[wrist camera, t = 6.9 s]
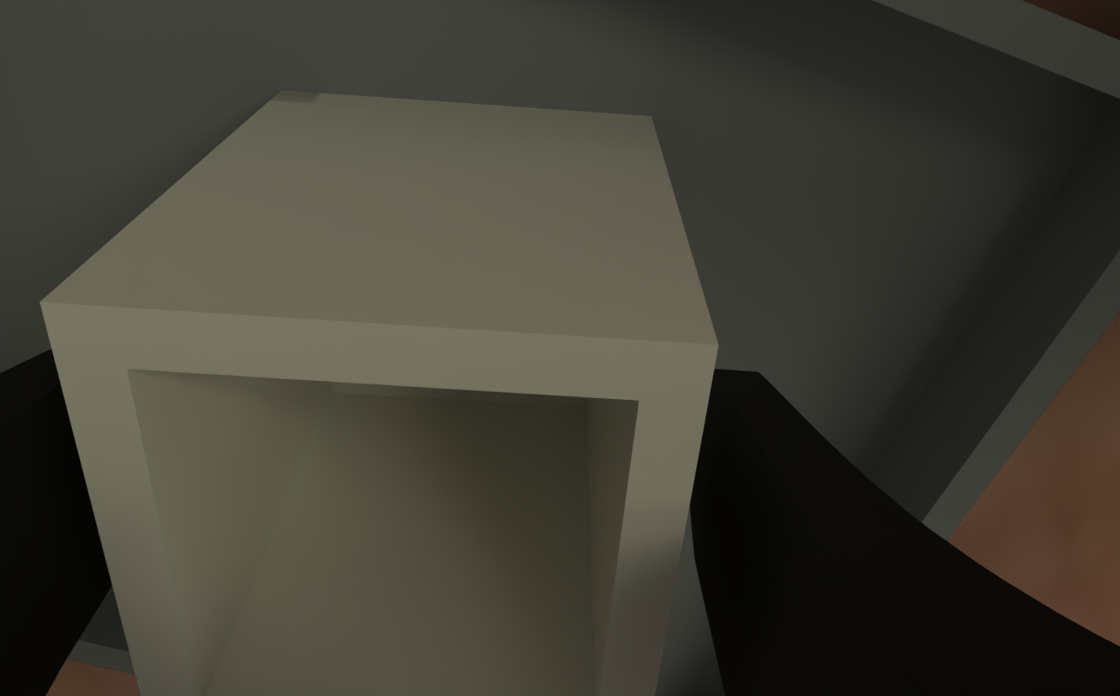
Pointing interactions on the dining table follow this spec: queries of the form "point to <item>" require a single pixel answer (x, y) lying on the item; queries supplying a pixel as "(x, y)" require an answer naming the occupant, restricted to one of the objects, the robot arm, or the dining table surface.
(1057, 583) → the dining table surface
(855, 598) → the robot arm
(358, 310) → the open box
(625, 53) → the tray
